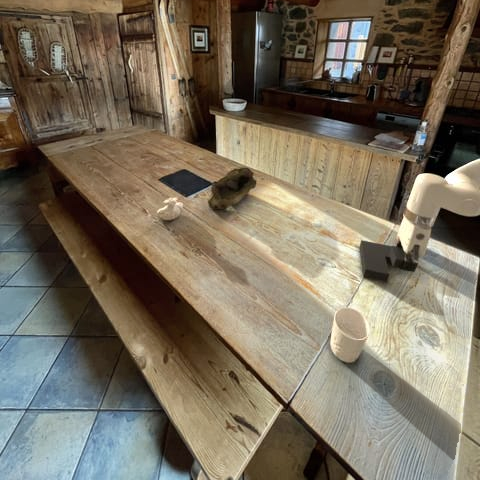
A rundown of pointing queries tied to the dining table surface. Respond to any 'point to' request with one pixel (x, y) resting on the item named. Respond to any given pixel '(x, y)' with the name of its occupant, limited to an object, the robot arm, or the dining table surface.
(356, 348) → the white cup
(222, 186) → the hollow geode rock
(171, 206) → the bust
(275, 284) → the dining table surface
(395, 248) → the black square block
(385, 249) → the dark l-shaped block
